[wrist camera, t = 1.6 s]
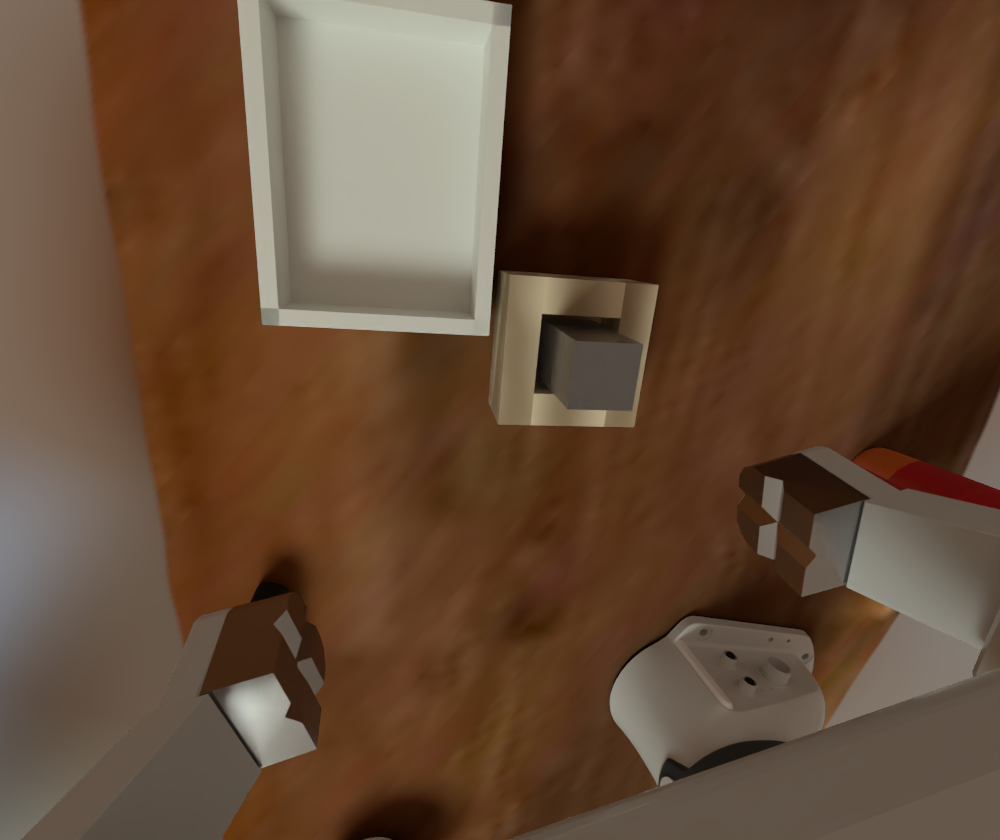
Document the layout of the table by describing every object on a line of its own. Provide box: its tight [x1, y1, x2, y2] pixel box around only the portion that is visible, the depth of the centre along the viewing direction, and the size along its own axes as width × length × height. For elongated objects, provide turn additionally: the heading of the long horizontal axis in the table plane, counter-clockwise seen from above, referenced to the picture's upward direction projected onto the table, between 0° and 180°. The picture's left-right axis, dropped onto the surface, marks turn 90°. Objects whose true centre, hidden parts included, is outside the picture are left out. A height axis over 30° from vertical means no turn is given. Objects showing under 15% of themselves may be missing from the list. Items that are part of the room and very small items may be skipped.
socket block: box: [488, 270, 659, 427], centre depth 36 cm, size 10×10×5 cm
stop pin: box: [536, 318, 644, 411], centre depth 33 cm, size 4×4×9 cm
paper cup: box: [851, 447, 1000, 510], centre depth 41 cm, size 8×8×14 cm
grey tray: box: [237, 0, 512, 336], centre depth 31 cm, size 14×18×4 cm
